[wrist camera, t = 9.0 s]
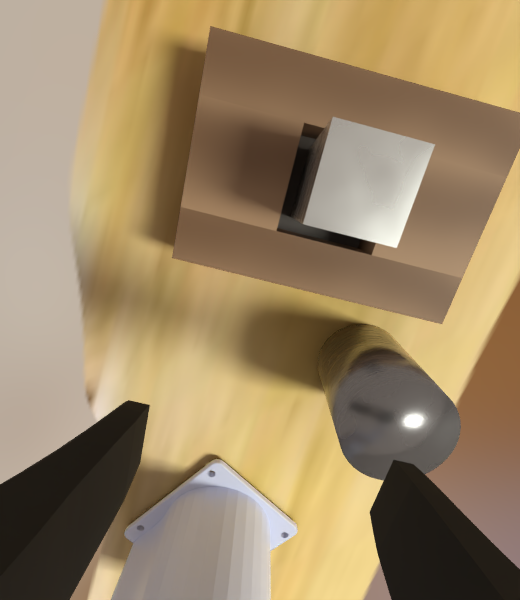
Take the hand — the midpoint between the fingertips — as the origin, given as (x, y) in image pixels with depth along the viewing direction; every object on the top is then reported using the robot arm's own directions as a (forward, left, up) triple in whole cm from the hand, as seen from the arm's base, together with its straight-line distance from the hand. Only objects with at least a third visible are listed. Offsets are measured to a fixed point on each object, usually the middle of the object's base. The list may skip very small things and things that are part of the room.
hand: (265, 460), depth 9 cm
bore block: (+7, +3, -9) cm, 12 cm away
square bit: (+8, +3, -9) cm, 12 cm away
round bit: (+3, -5, -10) cm, 11 cm away
